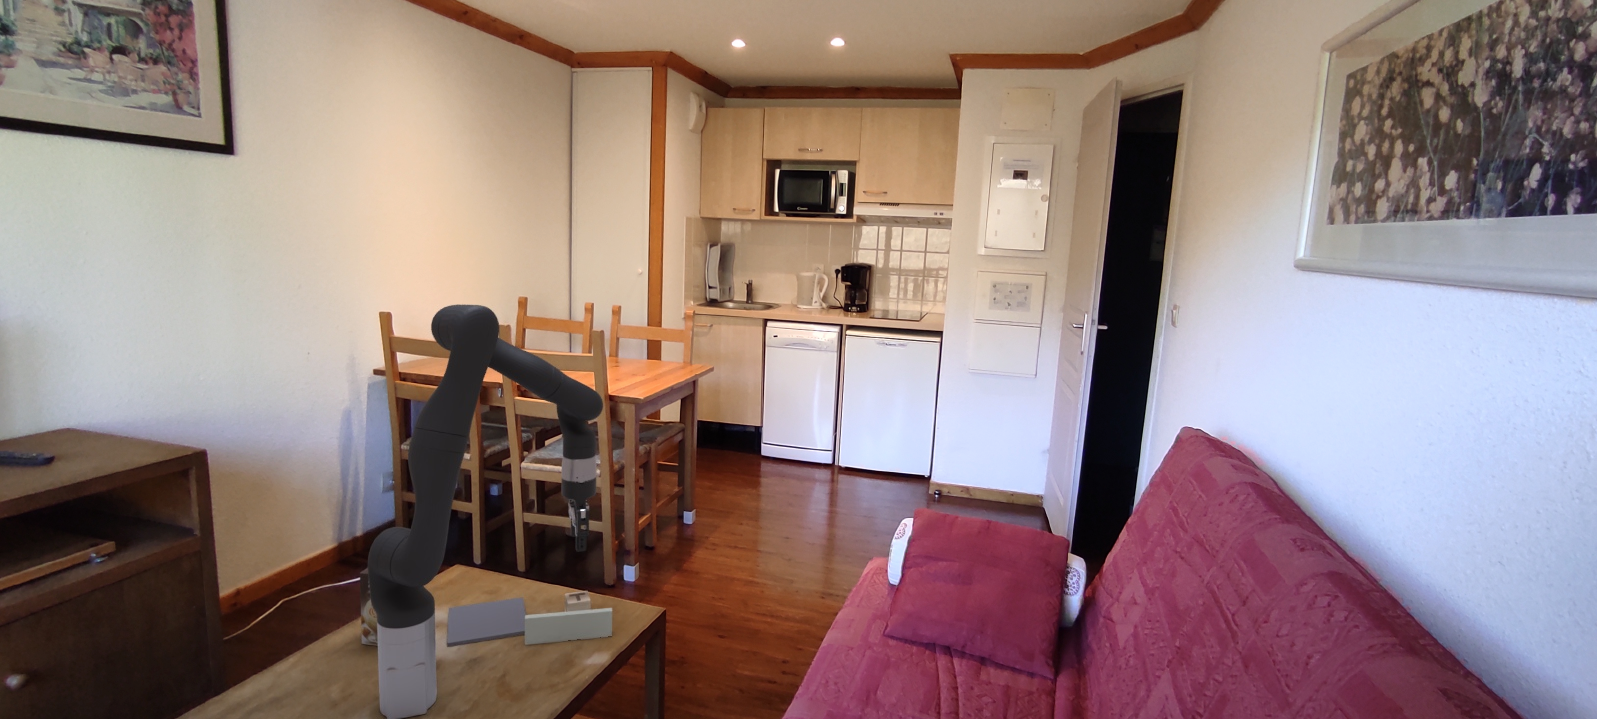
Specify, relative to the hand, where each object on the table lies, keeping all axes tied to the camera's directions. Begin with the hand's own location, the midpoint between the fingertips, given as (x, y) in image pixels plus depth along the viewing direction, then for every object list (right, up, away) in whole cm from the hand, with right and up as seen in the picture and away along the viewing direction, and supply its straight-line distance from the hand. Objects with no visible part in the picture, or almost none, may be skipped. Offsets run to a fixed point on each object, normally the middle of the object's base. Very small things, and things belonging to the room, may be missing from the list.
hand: (578, 543), depth 163 cm
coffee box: (-37, -18, -11) cm, 42 cm away
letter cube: (-1, -18, +3) cm, 18 cm away
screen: (0, -19, -7) cm, 20 cm away
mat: (-20, -17, -2) cm, 26 cm away
